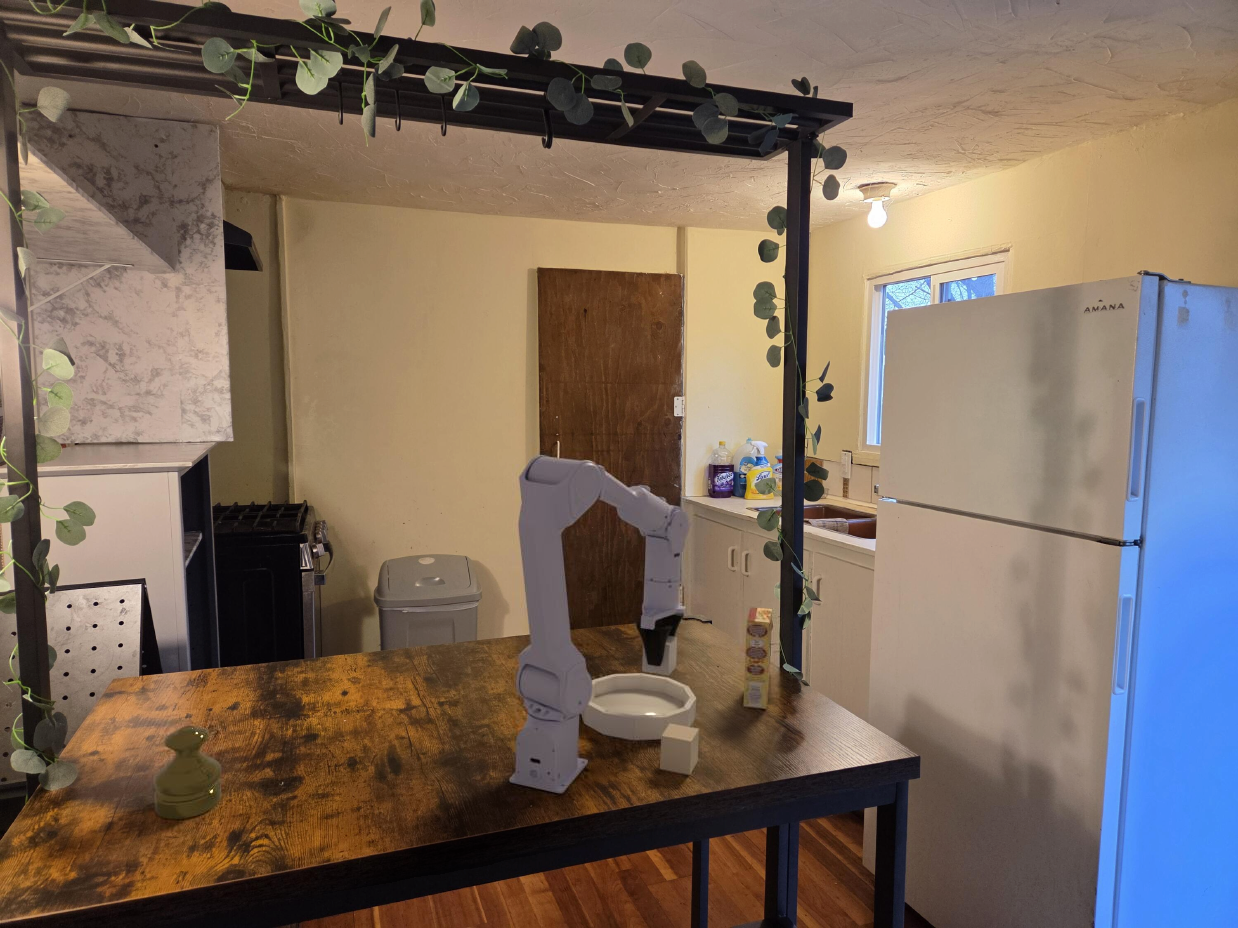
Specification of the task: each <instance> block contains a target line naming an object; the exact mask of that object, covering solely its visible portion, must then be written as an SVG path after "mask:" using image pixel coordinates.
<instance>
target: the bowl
mask: <svg viewBox="0 0 1238 928" xmlns="http://www.w3.org/2000/svg"><path fill="white" fill-rule="evenodd" d="M592 685H593V689H592V696H591V699H590V701H589V703H588V705H587V707H586V708H585V709H584V710H583V712H582V713H581V714H580V715H581V718H582V721H583V724H585V725H586V726H588V727H589V728H592V729H593V730H594V731H597V732H598V733H601V734H602V735H604V736H609V737H614V738H619V739H625V740H630V741H648V740H649V741H650V740H661V735H662V734H663V733H664V731H665V730H666V728H667V727H668V726H669V724H676V725H681V726H686V727H691V726H692V725H693V723H694V722H695V720H696V713H697V711H696V709H697V697H696V696H695V694H694V692H693V691H692V690H691V688H690V686H689V685H686V684H684V683H682V682H680V681H677V680H675V679H672V678H671V677H667V676H662V675H660V676H659V675H656V674H655V675H653V674H648V673H643V672H639V673H637V672H636V673H614V674H609V675H605V676H602V677H599V678H595V679H592Z"/></svg>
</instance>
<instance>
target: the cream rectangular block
mask: <svg viewBox="0 0 1238 928" xmlns="http://www.w3.org/2000/svg"><path fill="white" fill-rule="evenodd" d="M699 735H700V728H697V727H693V726H692V727H691V726H690V727H686V726H681V725H676V724H669V726H668V727H667V728H666V730H665V731H664V733H663V734H662V735H661V739H660V757H659V759H660V760H659V761H660V762H659V770H663V771H669V772H674V773H679V774H683V775H688V776H691V774H692V772H693V770H694V768H695V766H697V763H698V761H699V760H698V759H699V758H698V757H699V738H700V737H699Z"/></svg>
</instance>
